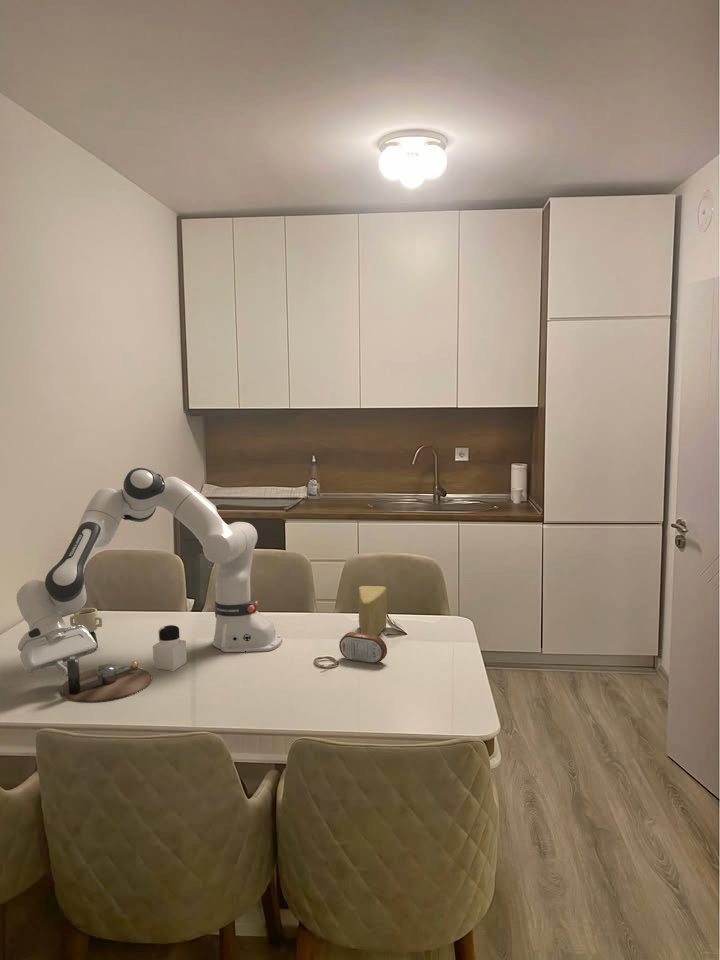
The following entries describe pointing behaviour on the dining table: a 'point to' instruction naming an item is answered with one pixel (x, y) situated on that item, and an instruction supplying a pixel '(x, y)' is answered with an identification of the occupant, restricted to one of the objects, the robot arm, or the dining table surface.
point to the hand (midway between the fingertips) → (71, 674)
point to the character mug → (87, 620)
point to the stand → (111, 686)
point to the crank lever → (105, 676)
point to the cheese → (372, 609)
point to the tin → (363, 647)
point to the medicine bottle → (169, 649)
